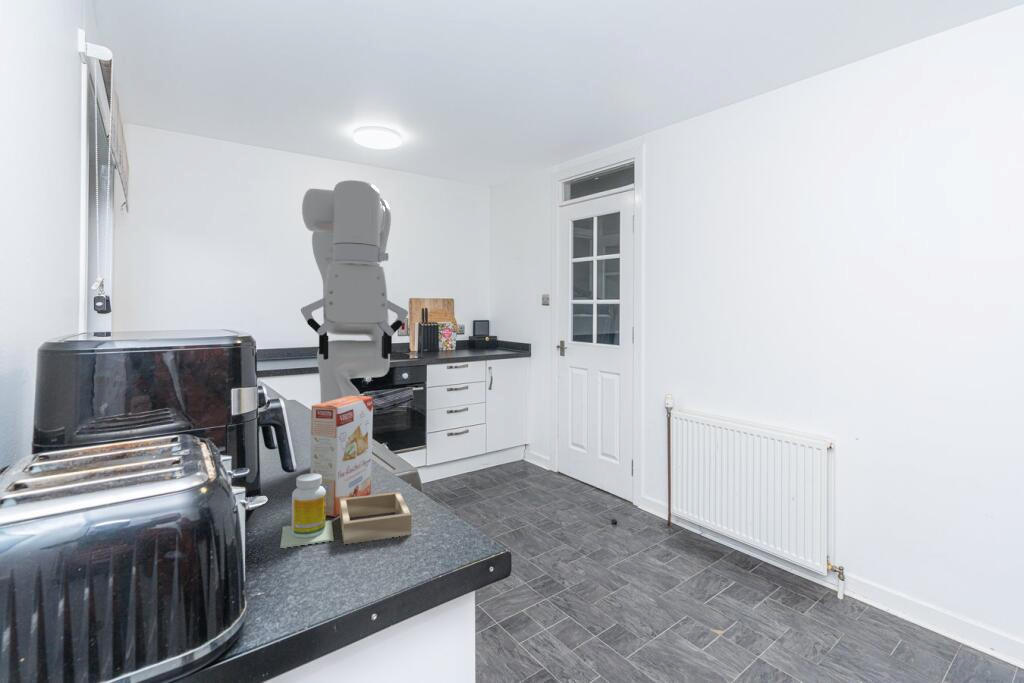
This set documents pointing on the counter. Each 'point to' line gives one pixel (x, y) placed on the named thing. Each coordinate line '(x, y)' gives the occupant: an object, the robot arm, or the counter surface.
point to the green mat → (291, 540)
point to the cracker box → (342, 448)
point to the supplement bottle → (308, 506)
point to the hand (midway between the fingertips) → (355, 358)
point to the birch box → (374, 526)
